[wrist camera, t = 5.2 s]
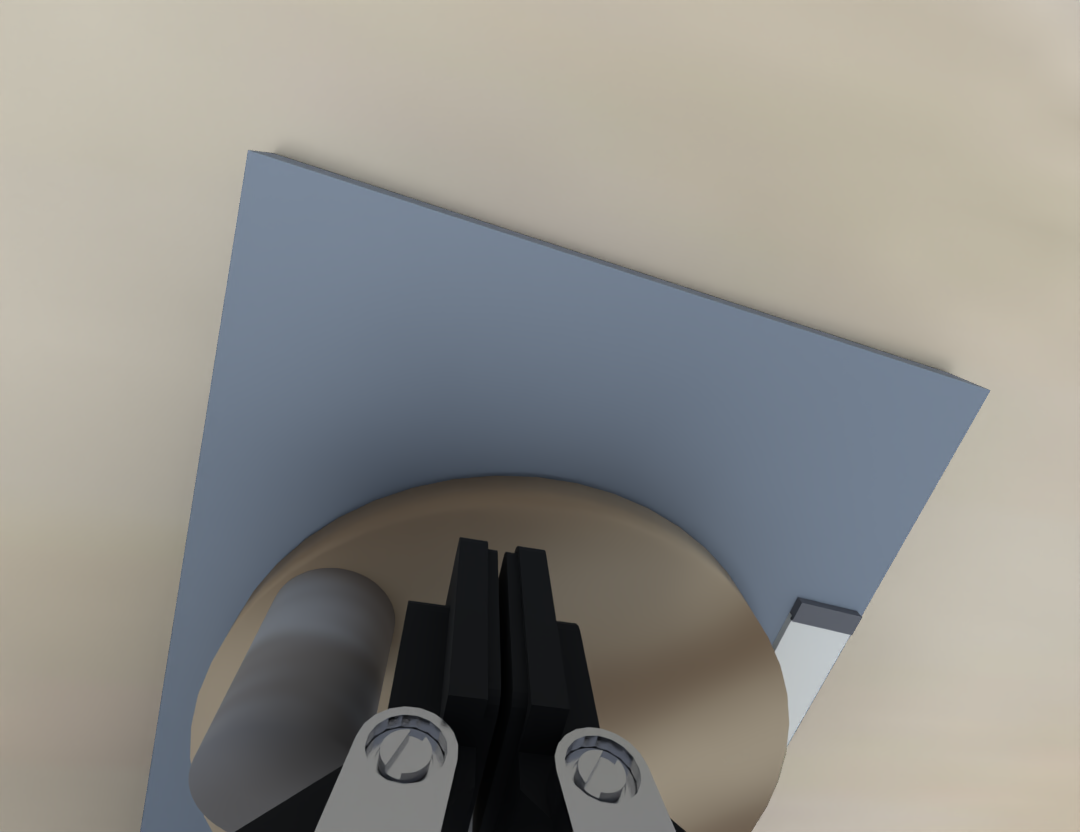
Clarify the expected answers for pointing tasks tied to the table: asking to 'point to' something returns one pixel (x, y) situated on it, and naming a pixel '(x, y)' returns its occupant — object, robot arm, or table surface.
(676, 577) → the crank wheel
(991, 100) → the table surface
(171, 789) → the blue-grey base board
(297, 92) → the table surface
